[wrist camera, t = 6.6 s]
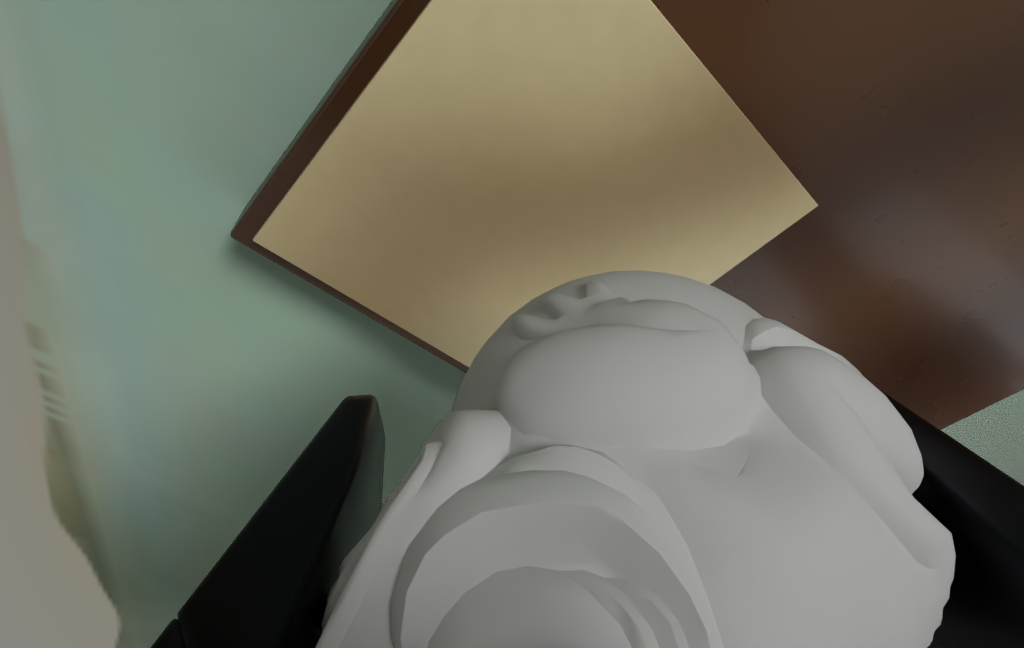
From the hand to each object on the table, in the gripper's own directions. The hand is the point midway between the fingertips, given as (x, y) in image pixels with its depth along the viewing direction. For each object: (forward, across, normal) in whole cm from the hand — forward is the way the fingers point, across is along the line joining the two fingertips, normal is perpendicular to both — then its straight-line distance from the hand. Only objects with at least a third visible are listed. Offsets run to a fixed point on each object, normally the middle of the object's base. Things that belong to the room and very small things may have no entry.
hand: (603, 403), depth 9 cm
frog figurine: (+2, 0, 0) cm, 2 cm away
